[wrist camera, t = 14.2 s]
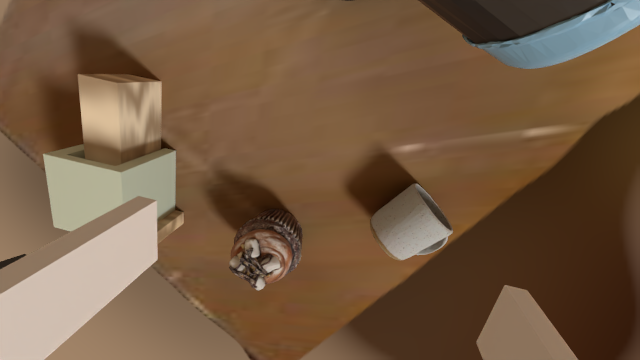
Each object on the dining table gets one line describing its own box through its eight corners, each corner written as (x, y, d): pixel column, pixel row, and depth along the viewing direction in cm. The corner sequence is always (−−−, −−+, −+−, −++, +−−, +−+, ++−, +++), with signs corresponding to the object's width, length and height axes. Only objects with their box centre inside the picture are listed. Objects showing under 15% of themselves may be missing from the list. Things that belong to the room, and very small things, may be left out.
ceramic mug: (365, 210, 44) (365, 238, 37) (410, 174, 41) (420, 197, 34) (413, 258, 45) (422, 294, 38) (460, 227, 43) (479, 259, 35)
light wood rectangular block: (128, 74, 42) (77, 74, 35) (162, 81, 42) (117, 82, 35) (131, 178, 48) (88, 198, 41) (161, 186, 48) (122, 207, 40)
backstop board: (109, 193, 49) (63, 215, 42) (183, 212, 48) (150, 237, 41) (109, 204, 50) (64, 227, 43) (183, 222, 49) (150, 249, 42)
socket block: (114, 136, 46) (43, 153, 36) (175, 150, 45) (121, 172, 35) (117, 195, 49) (53, 226, 39) (175, 210, 48) (125, 245, 39)
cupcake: (290, 268, 49) (272, 314, 40) (238, 239, 49) (207, 278, 39) (319, 224, 46) (306, 263, 36) (263, 192, 45) (235, 222, 36)
